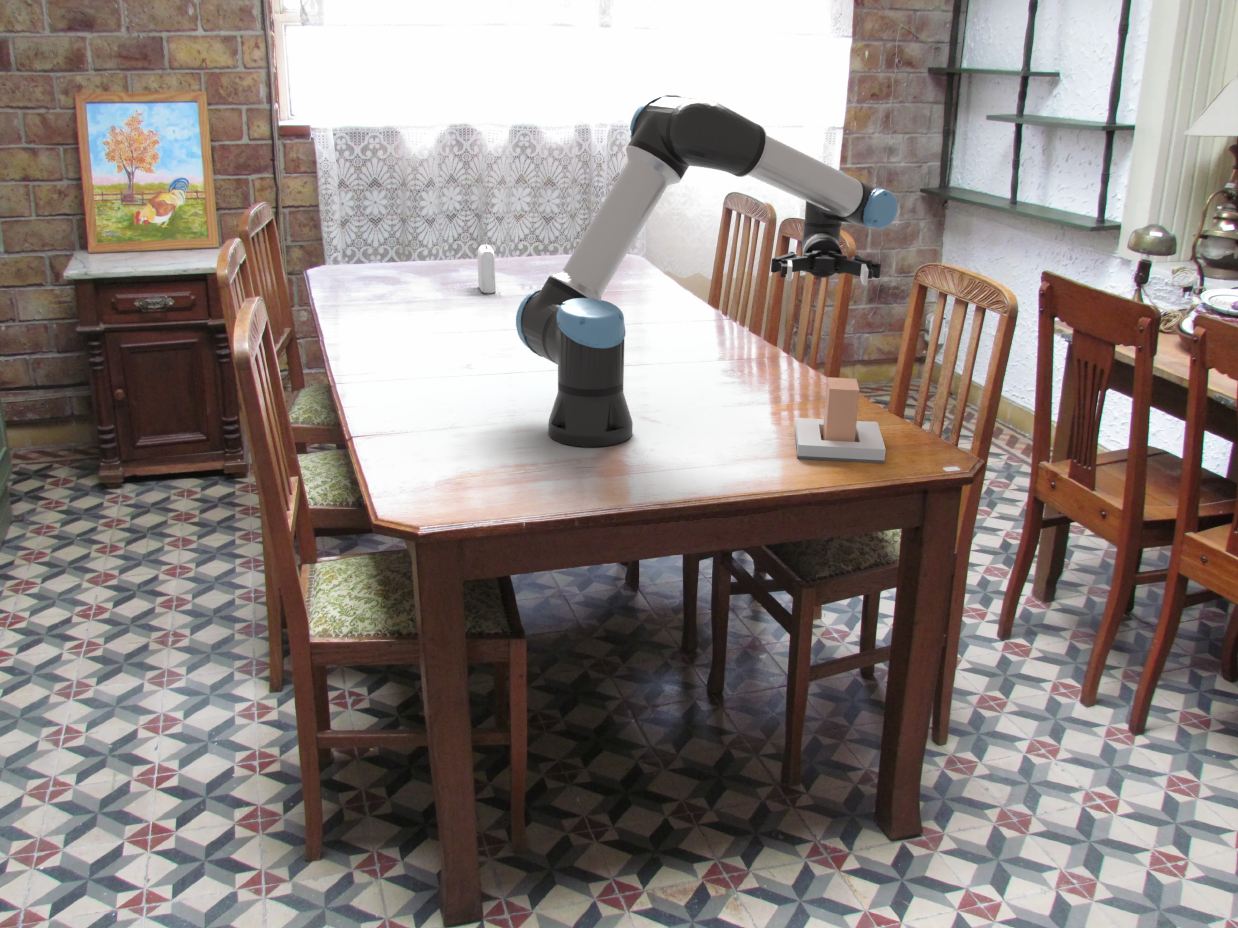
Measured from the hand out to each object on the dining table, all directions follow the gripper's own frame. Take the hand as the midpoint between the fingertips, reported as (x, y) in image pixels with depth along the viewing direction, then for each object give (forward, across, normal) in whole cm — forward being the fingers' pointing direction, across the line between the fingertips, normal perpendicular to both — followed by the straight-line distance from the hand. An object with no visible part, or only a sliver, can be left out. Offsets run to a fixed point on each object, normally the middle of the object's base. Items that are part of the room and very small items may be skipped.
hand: (827, 276), depth 206 cm
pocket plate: (+16, -4, -27) cm, 31 cm away
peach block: (+16, -4, -26) cm, 31 cm away
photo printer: (-99, +86, -27) cm, 134 cm away
